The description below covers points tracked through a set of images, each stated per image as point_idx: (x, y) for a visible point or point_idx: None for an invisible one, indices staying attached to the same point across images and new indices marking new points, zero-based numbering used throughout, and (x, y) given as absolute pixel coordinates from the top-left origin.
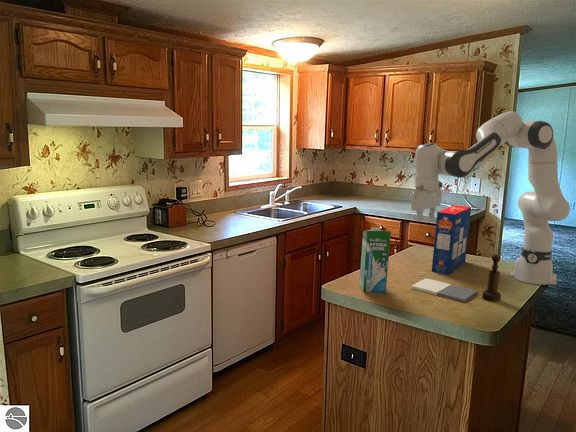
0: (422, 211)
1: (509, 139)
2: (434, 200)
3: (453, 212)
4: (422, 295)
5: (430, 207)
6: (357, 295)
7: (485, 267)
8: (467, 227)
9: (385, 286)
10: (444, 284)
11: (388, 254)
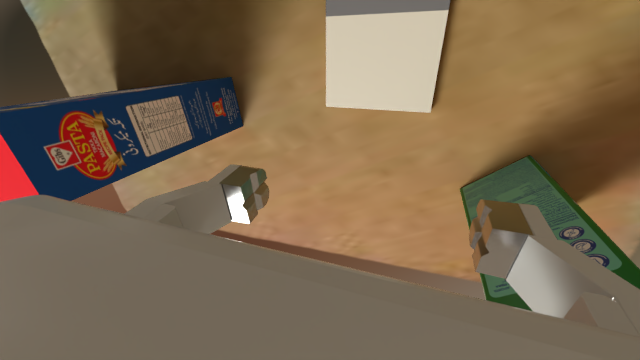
0: (636, 321)
1: None
2: (66, 317)
3: None
4: (482, 49)
5: (313, 261)
6: (619, 211)
7: (104, 28)
8: (1, 107)
9: (538, 164)
10: (342, 33)
11: (600, 228)
